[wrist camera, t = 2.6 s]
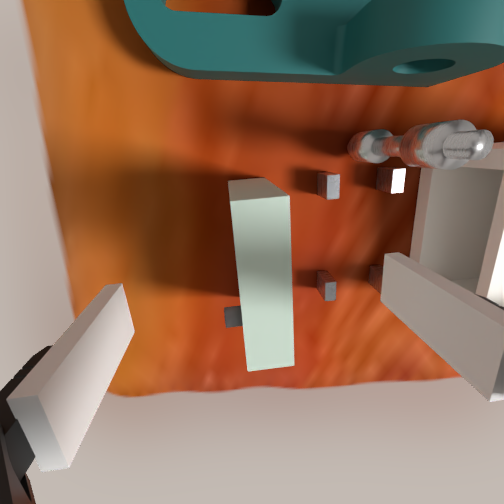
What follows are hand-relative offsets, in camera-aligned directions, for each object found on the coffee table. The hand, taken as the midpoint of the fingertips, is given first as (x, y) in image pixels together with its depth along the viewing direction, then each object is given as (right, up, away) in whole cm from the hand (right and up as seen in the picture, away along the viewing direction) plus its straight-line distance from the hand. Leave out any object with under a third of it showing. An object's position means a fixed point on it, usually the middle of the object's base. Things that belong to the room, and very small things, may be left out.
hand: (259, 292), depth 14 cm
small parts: (+7, +5, +7) cm, 11 cm away
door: (0, +3, +7) cm, 7 cm away
